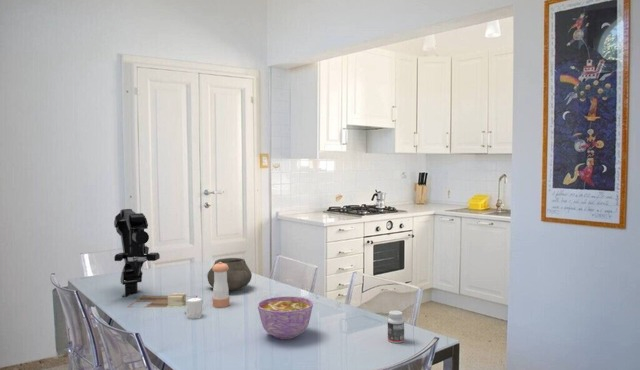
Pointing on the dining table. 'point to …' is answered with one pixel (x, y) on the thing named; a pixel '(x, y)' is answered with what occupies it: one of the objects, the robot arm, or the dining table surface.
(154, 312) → the dining table surface
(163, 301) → the trap deck
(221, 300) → the salt shaker
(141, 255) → the robot arm
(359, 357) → the dining table surface
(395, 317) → the pill bottle
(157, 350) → the dining table surface
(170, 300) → the birch block
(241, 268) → the clay pot
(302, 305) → the bowl of food
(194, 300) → the white cylinder
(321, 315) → the dining table surface
